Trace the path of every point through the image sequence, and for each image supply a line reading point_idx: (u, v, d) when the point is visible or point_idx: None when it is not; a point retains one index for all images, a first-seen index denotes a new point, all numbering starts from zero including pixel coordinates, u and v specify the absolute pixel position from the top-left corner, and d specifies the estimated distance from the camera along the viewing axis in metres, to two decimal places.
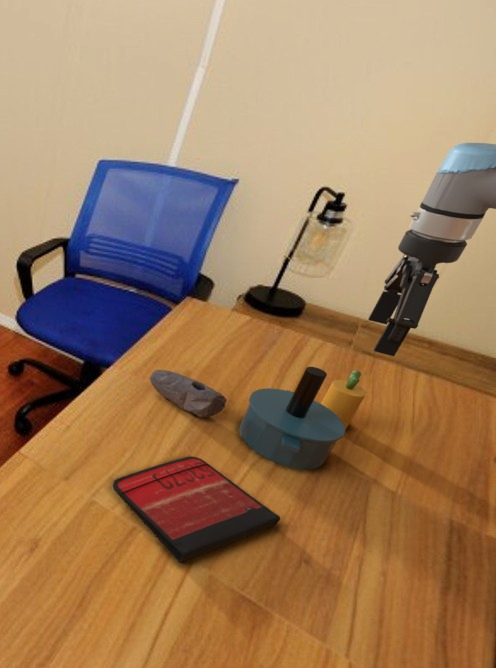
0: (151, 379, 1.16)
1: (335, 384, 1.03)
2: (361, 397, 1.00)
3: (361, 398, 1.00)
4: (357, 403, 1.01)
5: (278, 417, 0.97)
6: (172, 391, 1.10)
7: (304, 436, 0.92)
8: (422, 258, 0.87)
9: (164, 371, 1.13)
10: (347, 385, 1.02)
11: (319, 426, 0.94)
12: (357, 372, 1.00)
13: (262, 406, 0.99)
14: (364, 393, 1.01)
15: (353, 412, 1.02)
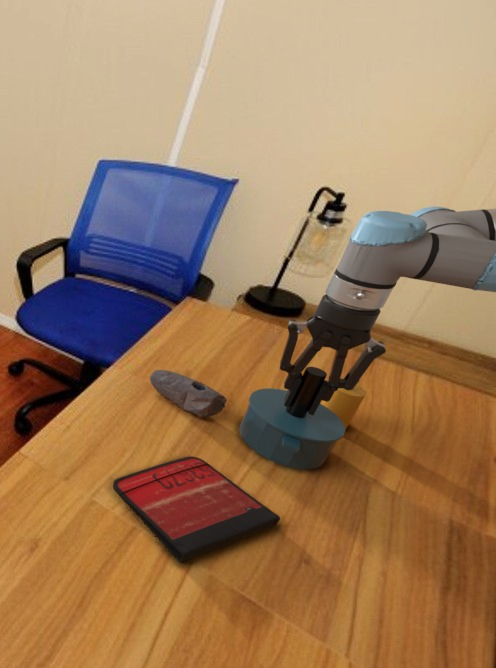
0: (151, 379, 1.16)
1: None
2: (361, 397, 1.00)
3: (361, 398, 1.00)
4: (357, 403, 1.01)
5: (278, 417, 0.97)
6: (172, 391, 1.10)
7: (304, 436, 0.92)
8: (371, 327, 0.85)
9: (164, 371, 1.13)
10: None
11: (319, 426, 0.94)
12: None
13: (262, 406, 0.99)
14: (364, 393, 1.01)
15: (353, 412, 1.02)
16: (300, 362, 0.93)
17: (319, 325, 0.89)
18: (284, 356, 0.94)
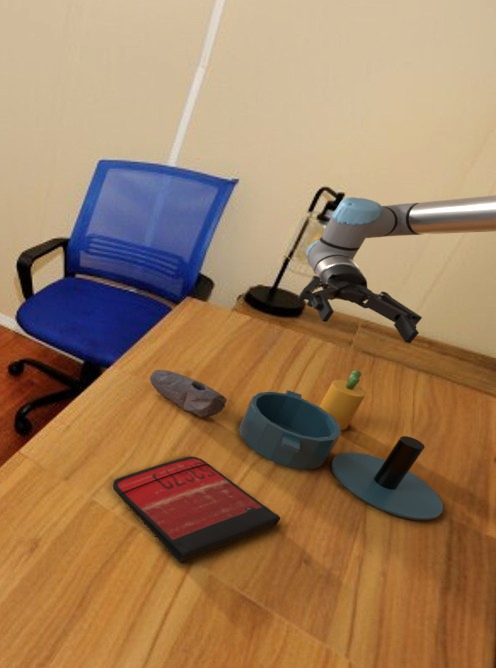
0: (151, 379, 1.16)
1: (335, 384, 1.03)
2: (361, 397, 1.00)
3: (361, 398, 1.00)
4: (357, 403, 1.01)
5: (367, 488, 0.90)
6: (172, 391, 1.10)
7: (400, 513, 0.86)
8: None
9: (164, 371, 1.13)
10: (347, 385, 1.02)
11: (414, 500, 0.88)
12: (357, 372, 1.00)
13: (347, 474, 0.93)
14: (364, 393, 1.01)
15: (353, 412, 1.02)
16: None
17: None
18: None
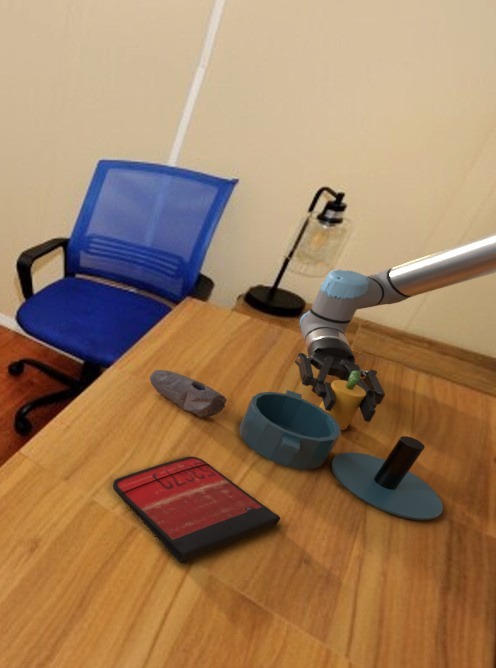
0: (151, 379, 1.16)
1: (335, 384, 1.03)
2: (361, 397, 1.00)
3: (361, 398, 1.00)
4: (357, 403, 1.01)
5: (367, 488, 0.90)
6: (172, 391, 1.10)
7: (400, 513, 0.86)
8: (309, 357, 1.16)
9: (164, 371, 1.13)
10: (347, 385, 1.02)
11: (414, 500, 0.88)
12: (357, 372, 1.00)
13: (347, 474, 0.93)
14: (364, 393, 1.01)
15: (353, 412, 1.02)
16: None
17: None
18: None
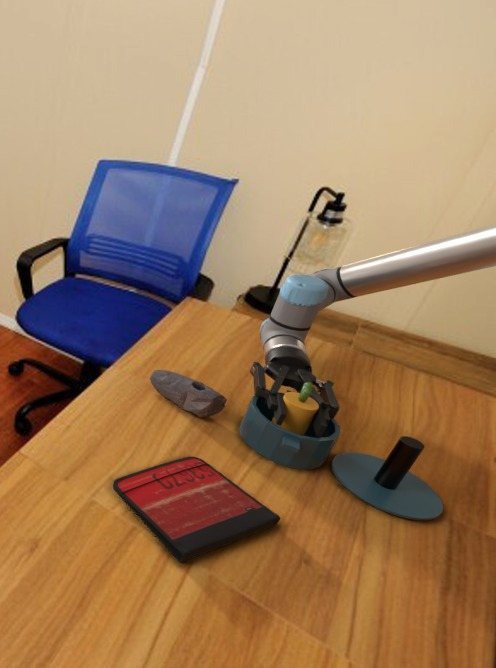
0: (151, 379, 1.16)
1: (287, 396, 0.97)
2: (313, 410, 0.94)
3: (313, 412, 0.94)
4: (309, 417, 0.95)
5: (367, 488, 0.90)
6: (172, 391, 1.10)
7: (400, 513, 0.86)
8: None
9: (164, 371, 1.13)
10: (299, 398, 0.96)
11: (414, 500, 0.88)
12: (309, 384, 0.94)
13: (347, 474, 0.93)
14: (317, 406, 0.95)
15: (306, 426, 0.96)
16: None
17: None
18: None
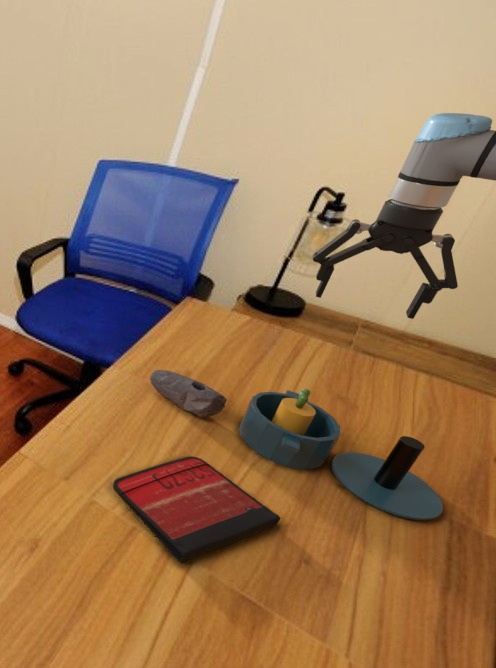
0: (151, 379, 1.16)
1: (284, 402, 0.98)
2: (310, 416, 0.95)
3: (310, 418, 0.95)
4: (306, 423, 0.96)
5: (367, 488, 0.90)
6: (172, 391, 1.10)
7: (400, 513, 0.86)
8: (378, 215, 0.95)
9: (164, 371, 1.13)
10: (296, 404, 0.97)
11: (414, 500, 0.88)
12: (306, 390, 0.95)
13: (347, 474, 0.93)
14: (313, 412, 0.95)
15: (303, 432, 0.97)
16: None
17: None
18: None
